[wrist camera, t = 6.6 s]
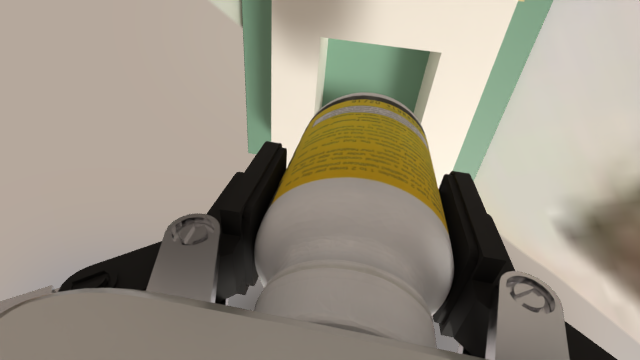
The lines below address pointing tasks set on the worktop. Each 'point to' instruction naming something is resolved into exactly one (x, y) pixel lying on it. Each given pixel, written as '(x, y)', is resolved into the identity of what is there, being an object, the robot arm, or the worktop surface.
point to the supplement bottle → (358, 225)
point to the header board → (389, 66)
